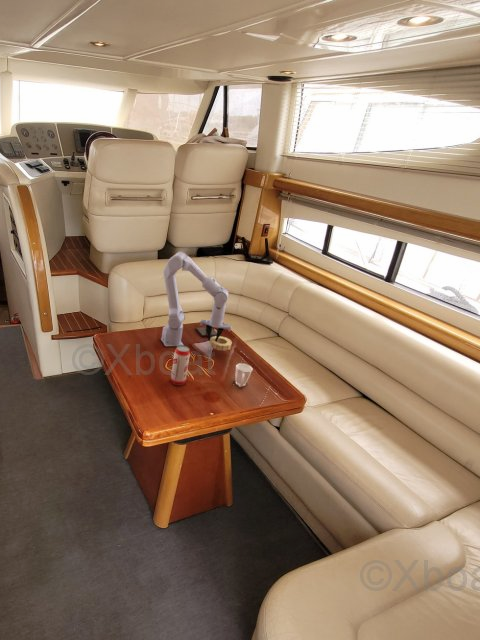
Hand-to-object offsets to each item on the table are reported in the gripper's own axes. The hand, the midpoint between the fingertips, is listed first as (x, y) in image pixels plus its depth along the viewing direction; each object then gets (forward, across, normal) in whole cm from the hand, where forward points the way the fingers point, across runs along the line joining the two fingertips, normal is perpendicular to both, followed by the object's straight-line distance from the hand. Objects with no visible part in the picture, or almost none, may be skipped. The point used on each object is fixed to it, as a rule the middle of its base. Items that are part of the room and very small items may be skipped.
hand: (212, 340), depth 185 cm
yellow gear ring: (+1, -4, 0) cm, 4 cm away
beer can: (+6, +7, +35) cm, 36 cm away
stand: (+6, +6, -20) cm, 21 cm away
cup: (+6, -17, +25) cm, 31 cm away
